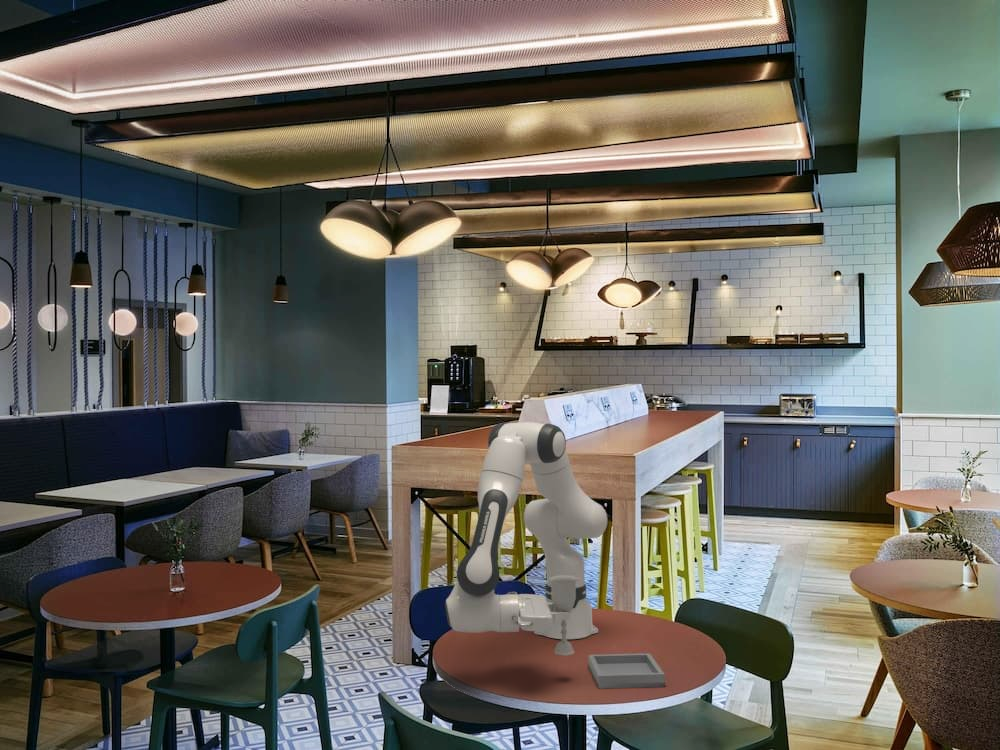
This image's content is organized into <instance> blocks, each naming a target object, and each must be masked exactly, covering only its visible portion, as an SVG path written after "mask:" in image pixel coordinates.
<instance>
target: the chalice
mask: <svg viewBox="0 0 1000 750" xmlns="http://www.w3.org/2000/svg"><path fill="white" fill-rule="evenodd" d="M549 580H550V582H551V598H552V601H553V604H554V607H555V609H556V611H557V613H558V612H561V611H568V612H569V615H570V612H571V610H572V608H573V606H574V602H575V599H576V581H577V577H574V576H566V575H562V576H554V577H551V578H549ZM561 626H562V631H561V634H562V639H560V640H559V641H558V642H557V643H556V647H555V649H554V651H553V653H554V654H556V655H558V656H569V655H570V656H571V655H573V654H575V650H574V648H573V646H572V643H571V642H570V641H568V639H566V634H567V631H566V626H567V623H566V620H562V623H561Z"/></svg>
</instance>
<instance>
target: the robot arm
mask: <svg viewBox="0 0 1000 750" xmlns="http://www.w3.org/2000/svg"><path fill="white" fill-rule="evenodd" d="M566 443H567V440H566V435H565V433H564V432H563V430H562V429H561V428H560V426H557V425H555V424H551V423H543V422H542V423H541V422H535V421H525V422H523V421H522V422H521V421H520V422H519V421H517V422H510V421H505V422H499V423H496V424H495V425H494V426H493V427H492V428H491V430H490V432H489V435H488V438H487V445H488V450H487V451H486V454H485V456H484V460H483V463H482V465H481V470H480V474H479V478H478V485H477V486H478V487H477V502H478V518H477V522H476V527H475V530H474V535H473V538H472V542H471V545H470V547H469V549H468V551H467V553H466V554H465V555H464V556H463V558H462V559H461V561H460V562H459V564H458V567H457V570H456V578H457V579H456V582H455V584H454V586H453V589H452V590H451V593H450V594H449V596H448V597H447V598H445V599H446V600H445V602H444V607H445V613H446V619H447V623H448V625H449V627H450V628H451V629H452V630H453V631H455V632H460V633H474V634H476V633H485V632H490V631H492V632H497V633H517V632H520V629H521V630H522V631H526V632H533V633H534V634H535V635H539V636H544V637H547V638H551V639H557V640H562V634H561V631H562V626H561V623H562V620H566V623H567V626H566V631H567V634H566V640H576V639H577V640H578V639H579V640H580V639H583V638H587V637H590V636H591V635H594V634H598V633H599V629H598V627H596V626H595V625H594V624H593V610H592V604H591V602H590V601H588V600H587V598H586V597H587V585H586V583H585V560H584V558H583V556H582V554H581V553H580V552H579V551H577V550H576V549H574V548H573V547H572V546H571V544H570V543H569V541H568V538H569V539H579V540H585V539H586V540H587V539H590V540H591V539H595V538H600V537H601V536H602V535H603V534H604V532H605V531H606V529H607V525H608V514H607V512H606V509H604V506H603V505H601V503H598V502H596V501H595V500H593V499H592V498H591V497H589V496H588V495H587V494H586V493H585V492H584V491H583V489H582V488H581V487H580V486H579V484H578V482H577V480H576V478H575V475H574V472H573V468H572V466H571V463H570V458H569V456H568V455H569V454H568V451H567V449H566V447H567V444H566ZM526 463H528V464H530V469H531V472H532V476H533V479H534V481H535V482H534V483H535V487H536V489H537V491H538V493H539V494H540V496H542V497H544V498H538V499H535V500H531V501H529V503H528V504H527V505H526V507H525V509H524V512H523V521H524V525H525V527H526V529H527V530H528V531H529V532H530V533H531V534H532V535H533V536H534V537H535V538H536V539H537V541H538V542H539V544H540V546H541V549H542V552H543V554H544V557H545V558H544V559H545V566H546V568H545V569H546V583H545V589H544V592H545V593H544V595H541V594H531V593H520V594H518V593H517V592H516V591H509V592H507V593H506V594H496V593H495V588H496V587H497V586H498V585H497V584H498V583H499V580H500V566H499V562H498V549H499V547H498V546H499V543H500V540H501V539H500V538H501V535H502V530H503V526H504V522H505V520H506V517H507V516H508V514H509V512H511V510H512V509H513V508H514V506H515V504H516V502H517V499H518V498H519V495H520V491H521V488H522V483H523V479H524V473H525V466H526ZM562 575H566V576H574V577H577V581H576V599H575V602H574V606H573V608H572V610H571V612H570V615H569V612H568V611H561V612H558V613H557V611H556V609H555V607H554V604H553V601H552V598H551V582H550V580H549V578H551V577H554V576H562Z"/></svg>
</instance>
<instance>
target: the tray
mask: <svg viewBox="0 0 1000 750" xmlns="http://www.w3.org/2000/svg"><path fill="white" fill-rule="evenodd" d="M587 657H588V659H587V660H588V662H587V663H588V664H587V665H588V669H589V670H590V673H591V675H592V677H593V679H594V682H595V683H596V686H597V688H598V689H599V688H600V689H627V688H629V689H630V688H631V689H632V688H633V689H634V688H635V689H636V688H637V689H638V688H665V687H666V676H665V675H666V673H664V671H663V669H662V668H661V667H660V666H659V664H658V663H657V661H656V660H655V659H654V657H653V656H652V654H651V653H650V652H648V653H611V654H609V653H608V654H607V653H606V654H588V655H587Z"/></svg>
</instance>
